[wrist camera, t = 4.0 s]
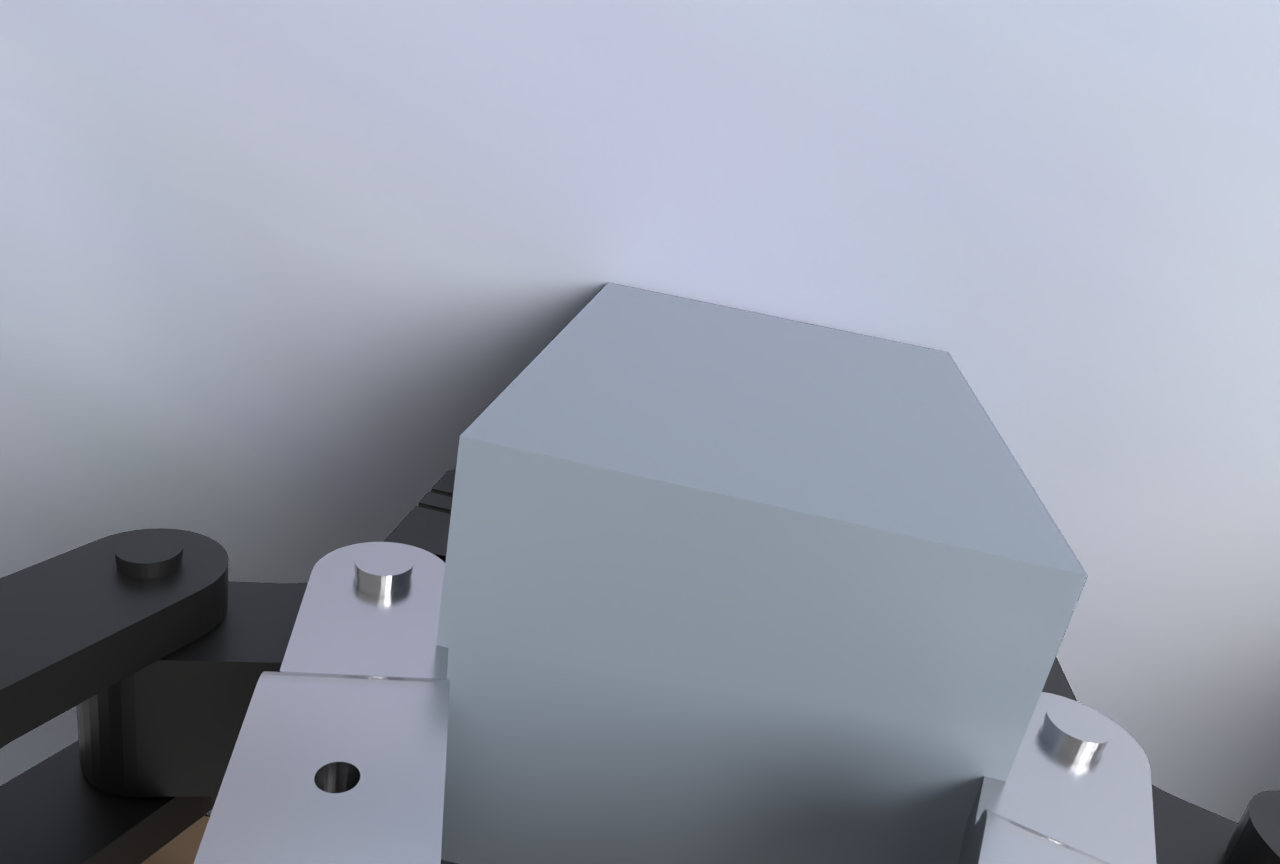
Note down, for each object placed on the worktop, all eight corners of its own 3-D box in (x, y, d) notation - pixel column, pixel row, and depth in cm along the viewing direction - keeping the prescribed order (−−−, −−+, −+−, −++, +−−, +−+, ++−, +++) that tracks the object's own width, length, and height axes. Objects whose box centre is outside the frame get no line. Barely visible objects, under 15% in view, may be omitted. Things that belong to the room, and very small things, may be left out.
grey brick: (948, 353, 12) (1088, 576, 6) (833, 728, 14) (863, 1141, 9) (608, 282, 12) (459, 436, 7) (546, 659, 14) (394, 1012, 9)
